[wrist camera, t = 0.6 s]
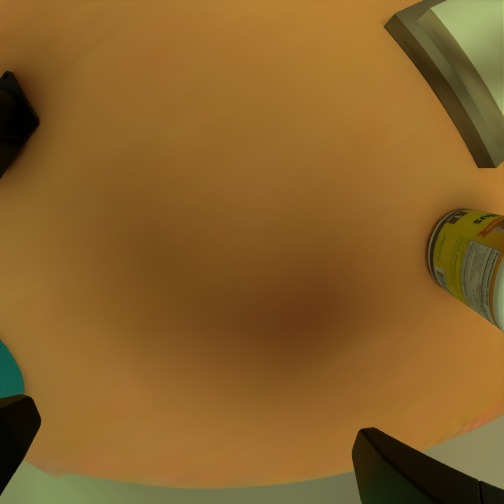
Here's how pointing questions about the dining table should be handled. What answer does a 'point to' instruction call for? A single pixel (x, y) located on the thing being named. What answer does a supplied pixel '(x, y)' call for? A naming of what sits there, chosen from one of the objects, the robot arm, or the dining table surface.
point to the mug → (9, 374)
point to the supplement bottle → (471, 261)
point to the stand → (461, 65)
